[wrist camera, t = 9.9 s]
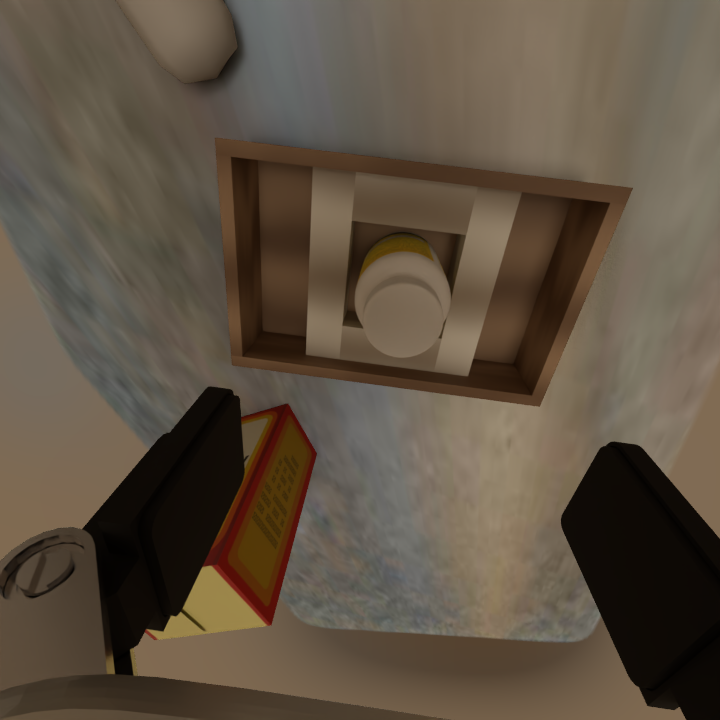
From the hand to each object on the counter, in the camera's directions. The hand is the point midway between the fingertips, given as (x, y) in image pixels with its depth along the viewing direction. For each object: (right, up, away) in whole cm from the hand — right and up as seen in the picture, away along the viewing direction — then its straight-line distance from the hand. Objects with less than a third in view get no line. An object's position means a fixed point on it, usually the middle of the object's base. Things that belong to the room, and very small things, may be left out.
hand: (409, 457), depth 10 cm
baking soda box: (-11, -6, +27) cm, 30 cm away
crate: (+2, +9, +18) cm, 20 cm away
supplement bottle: (+2, +9, +17) cm, 19 cm away
